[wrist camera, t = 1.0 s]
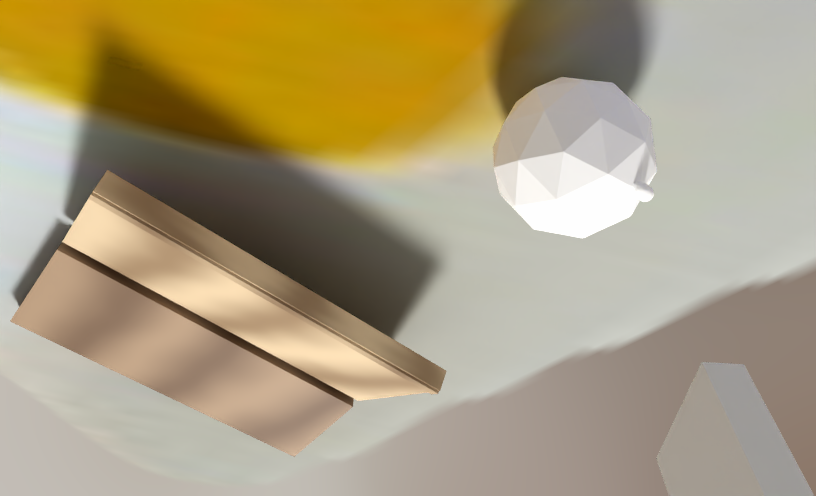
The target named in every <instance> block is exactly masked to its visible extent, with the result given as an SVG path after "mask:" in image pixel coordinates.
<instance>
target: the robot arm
mask: <svg viewBox="0 0 816 496" xmlns="http://www.w3.org/2000/svg"><path fill="white" fill-rule="evenodd" d="M656 459H657V462H658V465H659V468H660V471H661V474H662V476H663V479H664V482H665V485H666V488H667V491H668V494H669V496H814V495H813V493H812V491H811V489H810V487H809V485H808V483H807V482H806V480H805V478H804V476H803V474H802V472H801V470H800V468H799V467H798V465H797V463H796V461H795V459H794V457H793V455H792V453H791V452H790V450H789V448H788V446H787V444H786V442H785V440H784V439H783V437H782V435H781V433H780V431H779V429H778V427H777V425H776V424H775V422H774V420H773V418H772V416H771V414H770V412H769V410H768V409H767V407H766V405H765V403H764V401H763V399H762V397H761V396H760V394H759V392H758V390H757V388H756V386H755V384H754V383H753V381H752V379H751V377H750V375H749V373H748V371H747V369H746V367H745V366H744V365H743V364H726V363H709V362H702V363H701V365H700V367H699V369H698V371H697V374H696V376H695V378H694V380H693V382H692V384H691V386H690V388H689V390H688V393H687V395H686V397H685V399H684V401H683V403H682V405H681V407H680V409H679V412H678V414H677V416H676V418H675V420H674V422H673V424H672V427H671V429H670V431H669V433H668V435H667V437H666V439H665V442H664V443H663V446H662V448H661V450H660V452H659V454H658V456H657V458H656Z"/></svg>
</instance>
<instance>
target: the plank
mask: <svg viewBox="0 0 816 496" xmlns="http://www.w3.org/2000/svg"><path fill="white" fill-rule="evenodd" d="M62 242H63V243H65V244H67V245H69V246H71V247H73V248H74V249H76V250H78V251H80V252H82V253H84V254H86V255H87V256H89V257H91V258H93V259H95V260H97V261H99V262H101V263H102V264H104V265H106V266H108V267H110V268H112V269H114V270H115V271H117V272H119V273H121V274H123V275H125V276H127V277H128V278H130V279H132V280H134V281H136V282H138V283H140V284H142V285H143V286H145V287H147V288H149V289H151V290H153V291H155V292H156V293H158V294H160V295H162V296H164V297H166V298H168V299H169V300H171V301H173V302H175V303H177V304H179V305H181V306H183V307H184V308H186V309H188V310H190V311H192V312H194V313H196V314H197V315H199V316H201V317H203V318H205V319H207V320H209V321H210V322H212V323H214V324H216V325H218V326H220V327H222V328H224V329H225V330H227V331H229V332H231V333H233V334H235V335H237V336H238V337H240V338H242V339H244V340H246V341H248V342H250V343H251V344H253V345H255V346H257V347H259V348H261V349H263V350H265V351H266V352H268V353H270V354H272V355H274V356H276V357H278V358H279V359H281V360H283V361H285V362H287V363H289V364H291V365H292V366H294V367H296V368H298V369H300V370H302V371H304V372H306V373H307V374H309V375H311V376H313V377H315V378H317V379H319V380H320V381H322V382H324V383H326V384H328V385H330V386H332V387H333V388H335V389H337V390H339V391H341V392H343V393H345V394H347V395H348V396H350V397H352V398H354V399H356V400H358V401H361V400H369V399H377V398H386V397H394V396H402V395H411V394H419V393H427V392H428V393H430V394H438V392H439V391H440V389H441V386H442V383H443V380H444V377H445V374H446V370H444V369H442V368H441V367H439V366H437V365H436V364H434V363H432V362H431V361H429V360H427V359H425V358H424V357H422V356H420V355H419V354H417V353H415V352H414V351H412V350H410V349H409V348H407V347H405V346H404V345H402V344H400V343H399V342H397V341H395V340H393V339H392V338H390V337H388V336H387V335H385V334H383V333H382V332H380V331H378V330H377V329H375V328H373V327H372V326H370V325H368V324H367V323H365V322H363V321H361V320H360V319H358V318H356V317H355V316H353V315H351V314H350V313H348V312H346V311H345V310H343V309H341V308H340V307H338V306H336V305H334V304H333V303H331V302H329V301H328V300H326V299H324V298H323V297H321V296H319V295H318V294H316V293H314V292H313V291H311V290H309V289H308V288H306V287H304V286H302V285H301V284H299V283H297V282H296V281H294V280H292V279H291V278H289V277H287V276H286V275H284V274H282V273H281V272H279V271H277V270H276V269H274V268H272V267H270V266H269V265H267V264H265V263H264V262H262V261H260V260H259V259H257V258H255V257H254V256H252V255H250V254H249V253H247V252H245V251H243V250H242V249H240V248H238V247H237V246H235V245H233V244H232V243H230V242H228V241H227V240H225V239H223V238H222V237H220V236H218V235H217V234H215V233H213V232H211V231H210V230H208V229H206V228H205V227H203V226H201V225H200V224H198V223H196V222H195V221H193V220H191V219H190V218H188V217H186V216H185V215H183V214H181V213H179V212H178V211H176V210H174V209H173V208H171V207H169V206H168V205H166V204H164V203H163V202H161V201H159V200H158V199H156V198H154V197H153V196H151V195H149V194H147V193H146V192H144V191H142V190H141V189H139V188H137V187H136V186H134V185H132V184H131V183H129V182H127V181H126V180H124V179H122V178H120V177H119V176H117V175H115V174H114V173H112V172H110V171H109V170H107V171H106V173H105V174H104V176H103V177H102V179H101V180H100V182H99V183H98V184H97V186H96V187H95V189H94V190H93V192H92V193H91V195H90V197H89V198H88V200H87V202H86V203H85V205H84V207H83V208H82V210H81V212H80V213H79V215H78V217H77V218H76V220H75V221H74V223H73V225H72V226H71V228H70V230H69V231H68V233H67V235H66V236H65V238H64V239H63V241H62Z"/></svg>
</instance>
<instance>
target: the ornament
mask: <svg viewBox="0 0 816 496" xmlns="http://www.w3.org/2000/svg"><path fill="white" fill-rule="evenodd" d="M493 151H494V170H495V175H496V179H497V184H498V188H499V192H500V195H501V196H502V197H503V198H504V199H505V200H506V201H507V202H508V203H509V204H510V205H511V206H512V207H513V208H514V209H515V210H516V211H517V213H518V214H519V215H520V216H521V217H522V218H523V219H524V220H525V221H526V222H527V223H528V224H529V225H530V226H531V227H532V228H533V229H535V230H540V231H546V232H551V233H557V234H562V235H568V236H573V237H579V238H585V237H587V236H589V235H591V234H593V233H596V232H598V231H600V230H602V229H604V228H607V227H609V226H611V225H613V224H615V223H617V222H620V221H622V220H624V219H626V218H628V217H630V216H631V215H632V213H633V212H634V210H635V208H636V206H637V205H638V203H639V201H642V202H648V201H650V200H651V199H652V198H653V196H654V192H653V189H652V188H651V187H650V186H649V184H650V182H651V180H652V179H653V177H654V175H655V173H656V172H657V164H656V156H655V149H654V141H653V134H652V126H651V118H650V117H649V116H647V115H646V114H645V113H644V112H643V111H642V110H641V109H640V108H639V107H638V106H637V105H636V104H635V103H634V102H633V101H632V100H631V99H630V98H629V97H628V96H627V95H626V94H625V93H624V92H622V91H621V90H620V89H619V88H618V87H617V86H616V85H615V84H614V83H612V82H603V81H594V80H585V79H577V78H568V77H560V78H558V79H555V80H553V81H550V82H548V83H545V84H543V85H540V86H538V87H535V88H534V89H533V90H531V91H530V92H529V93H527V94H526V95H525V96H523V97H522V98H520V99H519V100H518V101H516V103H515V105H514V106H513V108H512V110H511V111H510V113H509V115H508V117H507V118H506V120H505V122H504V123H503V126H502V128H501V130H500V132H499V135H498V137H497V139H496V141H495V144H494V146H493Z"/></svg>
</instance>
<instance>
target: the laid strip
mask: <svg viewBox="0 0 816 496" xmlns="http://www.w3.org/2000/svg"><path fill="white" fill-rule="evenodd" d="M11 322H13V323H15V324H17V325H19V326H21V327H23V328H25V329H27V330H29V331H32V332H34V333H36V334H38V335H40V336H42V337H44V338H46V339H48V340H50V341H53V342H55V343H57V344H59V345H61V346H63V347H65V348H67V349H69V350H71V351H74V352H76V353H78V354H80V355H82V356H84V357H86V358H88V359H90V360H92V361H95V362H97V363H99V364H101V365H103V366H105V367H107V368H109V369H111V370H113V371H115V372H118V373H120V374H122V375H124V376H126V377H128V378H130V379H132V380H134V381H136V382H139V383H141V384H143V385H145V386H147V387H149V388H151V389H153V390H155V391H157V392H160V393H162V394H164V395H166V396H168V397H170V398H172V399H174V400H176V401H178V402H181V403H183V404H185V405H187V406H189V407H191V408H193V409H195V410H197V411H199V412H201V413H204V414H206V415H208V416H210V417H212V418H214V419H216V420H218V421H220V422H222V423H225V424H227V425H229V426H231V427H233V428H235V429H237V430H239V431H241V432H243V433H246V434H248V435H250V436H252V437H254V438H256V439H258V440H260V441H262V442H264V443H267V444H269V445H271V446H273V447H275V448H277V449H279V450H281V451H283V452H285V453H287V454H290V455H292V456H296V455H297V454H298V453H299V452H300V451H302V450H303V449H304V448H305V447H306V446H307V445H309V444H310V443H311V442H312V441H313V440H314V439H316V438H317V437H318V436H319V435H320V434H321V433H323V432H324V431H325V430H326V429H327V428H329V427H330V426H331V425H332V424H333V423H334V422H336V421H337V420H338V419H339V418H340V417H341V416H343V415H344V414H345V413H346V412H347V411H348V410H350V409H351V408H352V407H353V399H354V398H352V397H350V396H348V395H347V394H345V393H343V392H341V391H339V390H337V389H335V388H333V387H332V386H330V385H328V384H326V383H324V382H322V381H320V380H319V379H317V378H315V377H313V376H311V375H309V374H307V373H306V372H304V371H302V370H300V369H298V368H296V367H294V366H292V365H291V364H289V363H287V362H285V361H283V360H281V359H279V358H278V357H276V356H274V355H272V354H270V353H268V352H266V351H265V350H263V349H261V348H259V347H257V346H255V345H253V344H251V343H250V342H248V341H246V340H244V339H242V338H240V337H238V336H237V335H235V334H233V333H231V332H229V331H227V330H225V329H224V328H222V327H220V326H218V325H216V324H214V323H212V322H210V321H209V320H207V319H205V318H203V317H201V316H199V315H197V314H196V313H194V312H192V311H190V310H188V309H186V308H184V307H183V306H181V305H179V304H177V303H175V302H173V301H171V300H169V299H168V298H166V297H164V296H162V295H160V294H158V293H156V292H155V291H153V290H151V289H149V288H147V287H145V286H143V285H142V284H140V283H138V282H136V281H134V280H132V279H130V278H128V277H127V276H125V275H123V274H121V273H119V272H117V271H115V270H114V269H112V268H110V267H108V266H106V265H104V264H102V263H101V262H99V261H97V260H95V259H93V258H91V257H89V256H87V255H86V254H84V253H82V252H80V251H78V250H76V249H74V248H73V247H71V246H69V245H67V244H65V243H63V242H62V243H61V244H60V246H59V247H58V249H57V250H56V252H55V253H54V255H53V256H52V258H51V259H50V261H49V263H48V264H47V266H46V267H45V269H44V270H43V272H42V273H41V275H40V276H39V278H38V279H37V281H36V282H35V284H34V286H33V287H32V289H31V290H30V292H29V293H28V295H27V296H26V298H25V299H24V301H23V302H22V304H21V305H20V307H19V308H18V310H17V312H16V313H15V315H14V316H13V318H12V319H11Z"/></svg>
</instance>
